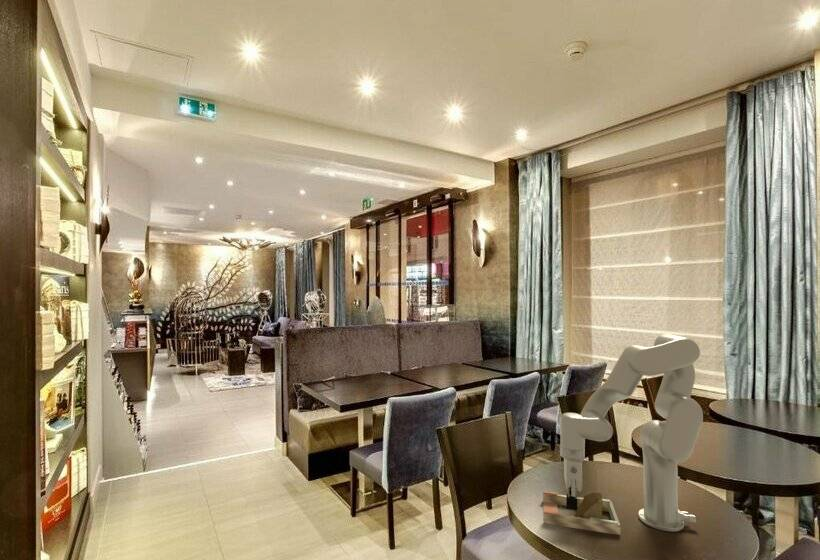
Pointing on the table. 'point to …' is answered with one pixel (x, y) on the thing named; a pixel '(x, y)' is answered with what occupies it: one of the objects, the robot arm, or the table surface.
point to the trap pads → (550, 506)
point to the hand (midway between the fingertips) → (571, 508)
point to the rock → (590, 507)
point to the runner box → (582, 523)
